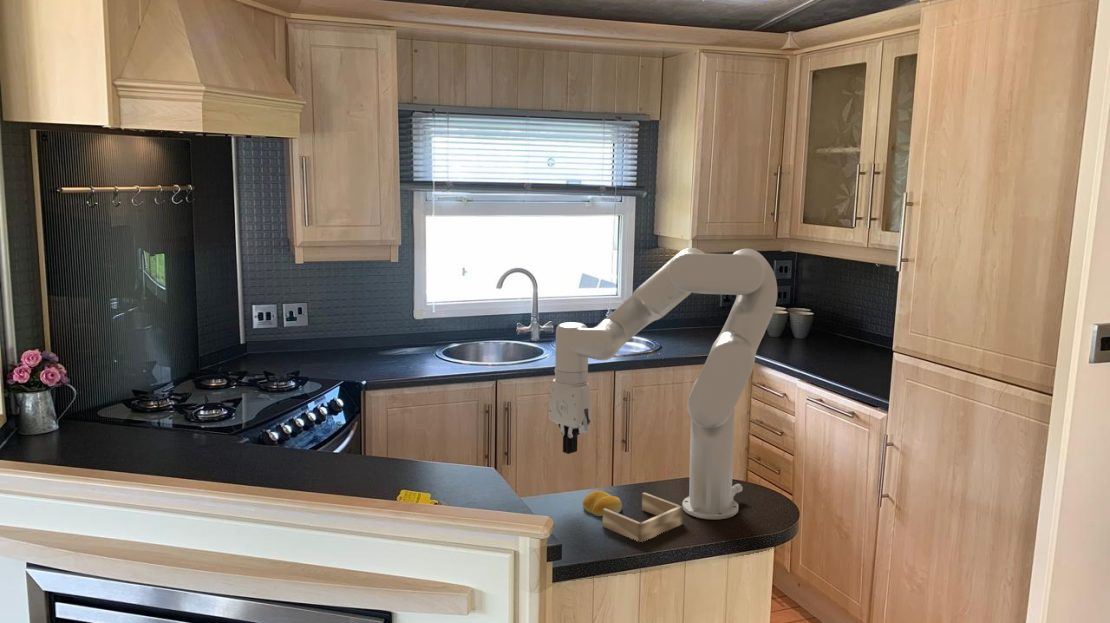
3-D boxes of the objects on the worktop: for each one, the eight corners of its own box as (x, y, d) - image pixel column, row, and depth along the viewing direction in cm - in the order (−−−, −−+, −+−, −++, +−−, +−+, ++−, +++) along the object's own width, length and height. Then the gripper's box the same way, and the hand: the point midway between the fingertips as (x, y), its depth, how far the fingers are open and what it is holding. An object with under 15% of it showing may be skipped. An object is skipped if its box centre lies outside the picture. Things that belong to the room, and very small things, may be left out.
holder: (644, 508, 197) (644, 492, 197) (682, 523, 189) (683, 506, 189) (602, 526, 188) (602, 509, 188) (641, 543, 180) (641, 525, 180)
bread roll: (604, 521, 192) (604, 504, 191) (577, 509, 198) (577, 492, 198) (630, 511, 197) (630, 494, 196) (603, 499, 204) (603, 483, 203)
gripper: (537, 372, 203) (536, 447, 206) (582, 385, 192) (580, 464, 195) (561, 367, 208) (560, 440, 211) (605, 380, 197) (603, 456, 200)
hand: (569, 451), depth 203 cm, fingers closed
